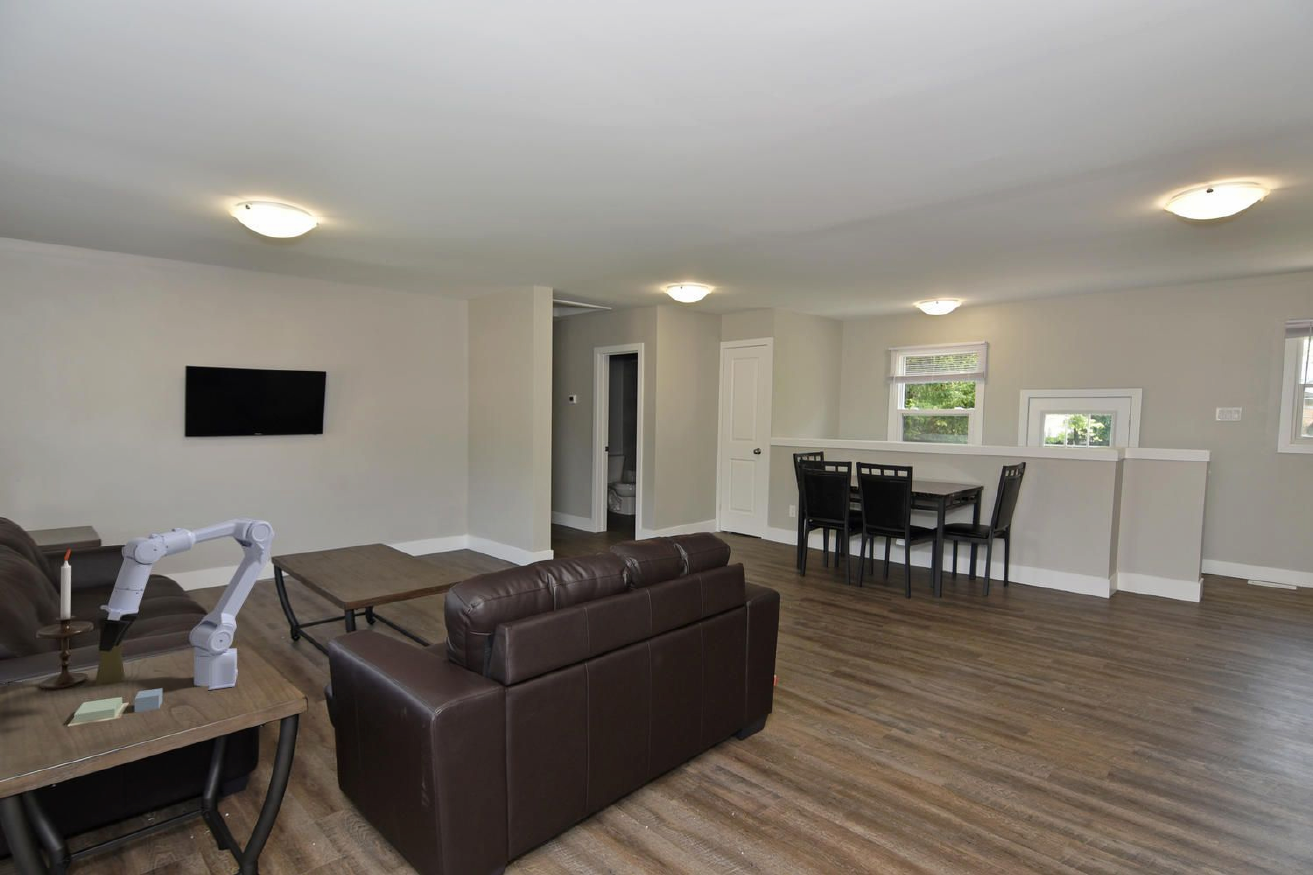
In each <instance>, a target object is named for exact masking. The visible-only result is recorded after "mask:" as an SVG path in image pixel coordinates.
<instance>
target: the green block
mask: <svg viewBox="0 0 1313 875" xmlns="http://www.w3.org/2000/svg"><path fill="white" fill-rule="evenodd" d="M122 703H123V696H121V697H112V698H106V699H98V700H92V701H85V702H83V703H82V704H81V705H80V707H79V708H78V709H77V710H76V711H75V713H74V715H73V718H74V723H81V722H88V721H94V720H101V719H107V718H114V717H115V716H116V714H117V713H118V711H119V709H120V708H121V706H122Z"/></svg>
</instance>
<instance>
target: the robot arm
mask: <svg viewBox="0 0 1313 875" xmlns="http://www.w3.org/2000/svg"><path fill="white" fill-rule="evenodd" d="M226 537H232V538H233V539H234V540H235V541H236V542H237V543H238V545H240V546H241V548H242V551H243V553H244V557H243V559H242V561H241V562H240V564H239V566H238V568H237V570H236V571H235V573H234V574H233V576H232V578H231V580H230V582H229V583H228V584H227V586H226V588H225V590H224V591H223V593H222V595H221V596H220V598H219V600H218V602H217V603H216V605H215V607H214V608H213V610H212V611H211V612H210V613H207V615H206V614H205V615H204V616H203V618H202V620H201V621H200V622H199V623H198V624H197V625H195V626H194V627H193V629H191V631H190V633H189V642H190V644H191V645H192V646H194V652H193V653H194V655H193V657H194V658H193V659H194V660H193V662H194V663H193V684H194V686H196V687H208V691H210V690H212V691H213V690H218V689H225V688H230V687H235V685H236V681H237V677H238V673H239V670H238V649H237V648H236V647H235V648H233V647H232V648H230V647H231V645H232V644H233V640H234V633H235V631H236V629H237V628H238V627H237V622H236V617H237V615H238V614H239V612H240V610H241V608H242V606H243V604H244V603H245V601H246V599H247V598H248V596H249V593H250V592H251V590H252V589H253V587H254V585H255V583H256V582H257V580H258V578H259V576H260V574H261V573H262V571H263V570H264V567H265V565H266V563H267V562H268V560H269V558H270V556H271V550H272V540H273V538H274V537H275V531H274V529H273V526H272V525H271V524H270V522H268V521H266V520H258V519H251V518H250V517H240V518H235V519H229V520H225V521H223V522H222V521H221V522H219V523H215V524H211V525H208V526H205V527H201V528H197V529H194V530H189V529H187V528H181V527H173V528H171V531H167V532H163V533H158V534H157V533H150V534H149V536H148V538H147V537H142V536H139V537H135V538H132V539H130V540H129V541H128V542H127V543H126V544H125V545H124V546H122V548H121V554H122V557H123V562H122V564H121V567H120V569H119V573H118V575H117V579H116V581H115V584H114V587H113V590H112V593H111V595H110V597H109V601H108V604H107V605H106V604H105V605H104V604H103V605H100V609H101V610H105V611H106V612H107V613H108V616H107V617H102V616H101V617H99V618H98V621H97V622H98V624H99V625H98V626H99V632H100V633H99V644H98V646H99V651H108V652H110V651H111V650H112V649H113V647H114V646H119V644H120V643H121V641H123V639H124V638H125V636H126V635H127V632H128V631H129V629H130V627H131V626H132V625H133V623H134V622H135V621H136V620H138V619H139V615H138V612H139V607H140V604H141V601H142V598H143V594H144V592H145V589H146V586H147V584H148V580H149V578H150V575H151V571H152V568H153V565H154V563H156V562H157V561H159V560H160V559H162V558H165V557H169V556H172V555H176V554H180V553H184V552H187V551H190V550H191V549H192V548H193V547H194V545H196V544H199V543H204V542H208V541H212V540H217V539H218V540H219V539H222V538H226Z"/></svg>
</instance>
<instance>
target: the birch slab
mask: <svg viewBox="0 0 1313 875" xmlns="http://www.w3.org/2000/svg"><path fill="white" fill-rule="evenodd" d="M129 703H130V702H124V703H123V702H122V706H121V708H120V709H119V711H118V713H117V714H116V716H115V717H114V718H107V719H101V720H94V721H88V722H81V723H74V717H72V719H71V720H70V722H69V723H68V724H67V727H72V726H73V727H74V726H79V725H87V724H94V723H99V722H106V721H111V720H112V721H113V720H118V719H121V717H122V715H123V714H124V712H125V710H126V708H127V706H128V705H129Z"/></svg>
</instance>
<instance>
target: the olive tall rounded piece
mask: <svg viewBox="0 0 1313 875" xmlns="http://www.w3.org/2000/svg"><path fill="white" fill-rule="evenodd" d="M124 644H125V643H124V642H123V640H122V641H121V643H120V644H119V646H114V647H113V649H112V650H111V651H110V652H108V651H99V645H98V646H97V653H98V654H99V661H98V666H97V672H96V677H95V678H96V679H95V684H94V685H95V687H96V686H98V687H99V686H104V685H111V684H120V683H123V682H124V681H125V680H126V676H125V669H124V663H123V657H122V651H123V650H124Z"/></svg>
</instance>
